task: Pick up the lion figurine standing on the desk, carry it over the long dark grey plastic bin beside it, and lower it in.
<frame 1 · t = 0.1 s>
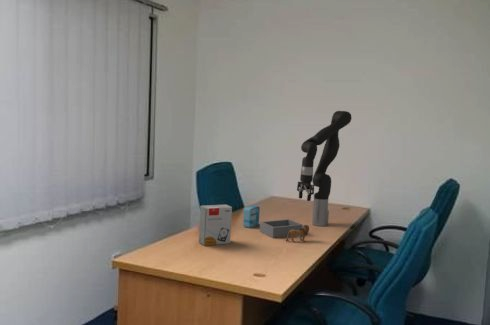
hand: (304, 199, 289), 17 cm above the table, tool pointing down, fingers open, 8 cm apart
bin: (280, 233, 272), on the table
lion figurine: (297, 241, 258), on the table
hard drive box: (214, 243, 247), on the table
data package: (251, 226, 287), on the table
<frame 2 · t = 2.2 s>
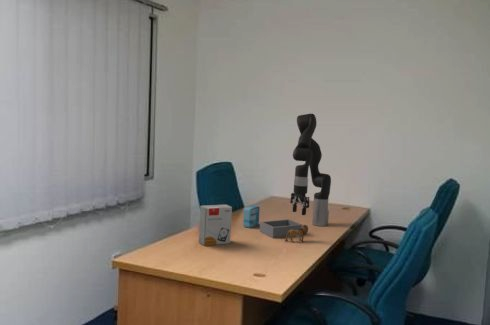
hand: (299, 213, 256), 16 cm above the table, tool pointing down, fingers open, 8 cm apart
nothing on the table moved.
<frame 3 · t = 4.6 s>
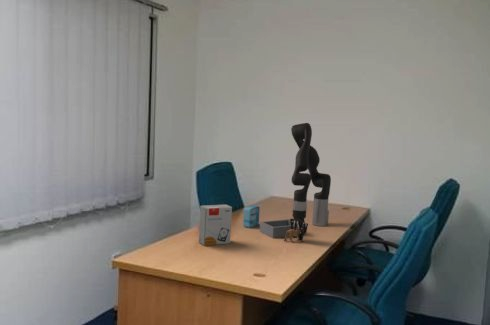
hand: (297, 238, 257), 1 cm above the table, tool pointing down, fingers closed on lion figurine, 4 cm apart
lion figurine: (295, 241, 257), on the table, touching gripper
everything else where it was.
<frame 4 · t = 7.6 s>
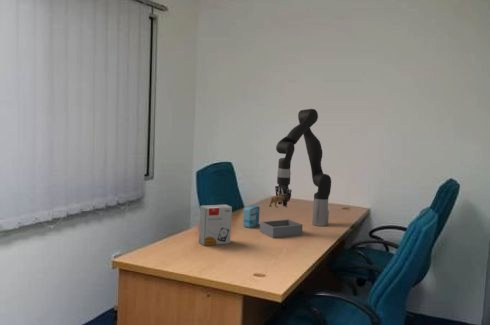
hand: (282, 204, 271), 17 cm above the table, tool pointing down, fingers closed on lion figurine, 4 cm apart
lion figurine: (280, 207, 271), point 16 cm above the table, touching gripper
everything else where it was.
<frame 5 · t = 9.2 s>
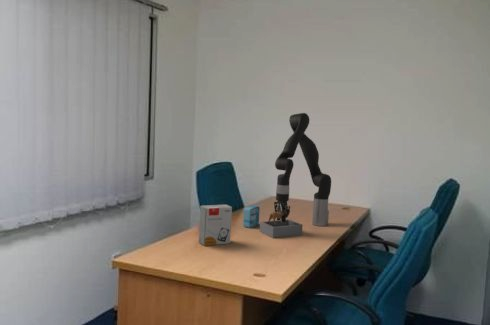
hand: (281, 220, 272), 7 cm above the table, tool pointing down, fingers closed on lion figurine, 4 cm apart
lion figurine: (278, 223, 272), point 6 cm above the table, touching gripper
everything else where it was.
when the fingers open (4 cm above the table, at t = 10.7 s): lion figurine drops 1 cm, resting on bin.
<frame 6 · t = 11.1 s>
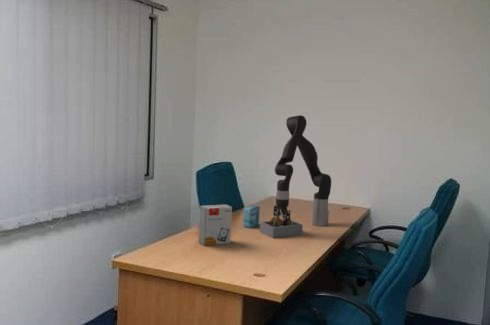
hand: (281, 225, 272), 5 cm above the table, tool pointing down, fingers open, 8 cm apart
lion figurine: (276, 229, 271), point 2 cm above the table, touching bin
everything else where it was.
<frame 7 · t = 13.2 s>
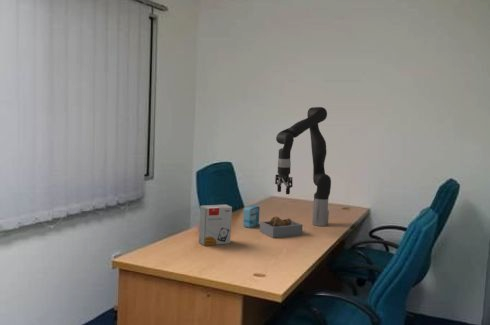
hand: (283, 193, 276), 23 cm above the table, tool pointing down, fingers open, 8 cm apart
nothing on the table moved.
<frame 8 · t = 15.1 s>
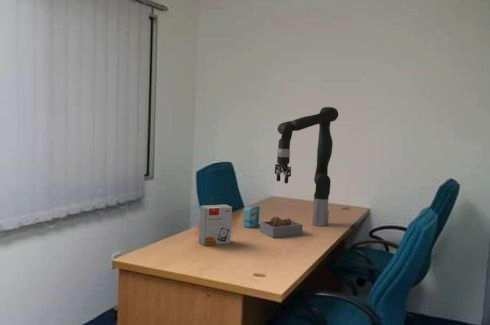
hand: (282, 182, 284), 28 cm above the table, tool pointing down, fingers open, 8 cm apart
nothing on the table moved.
at the end: lion figurine inside the target area on the bin (2.6 cm from its centre), point 2.2 cm above the bin's base; the gripper is holding nothing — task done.
